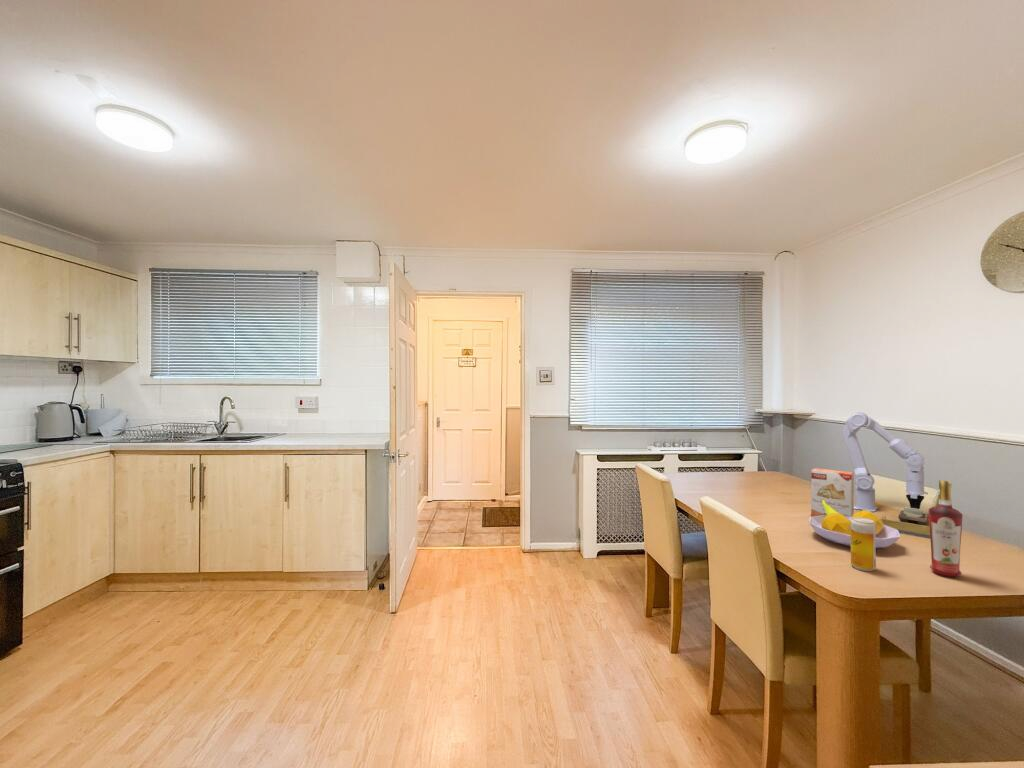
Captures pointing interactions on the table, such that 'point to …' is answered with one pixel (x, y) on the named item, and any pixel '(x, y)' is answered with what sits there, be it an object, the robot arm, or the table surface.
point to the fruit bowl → (840, 527)
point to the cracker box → (832, 491)
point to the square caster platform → (913, 515)
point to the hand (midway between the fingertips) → (915, 512)
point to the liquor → (945, 534)
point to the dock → (907, 527)
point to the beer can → (863, 544)
